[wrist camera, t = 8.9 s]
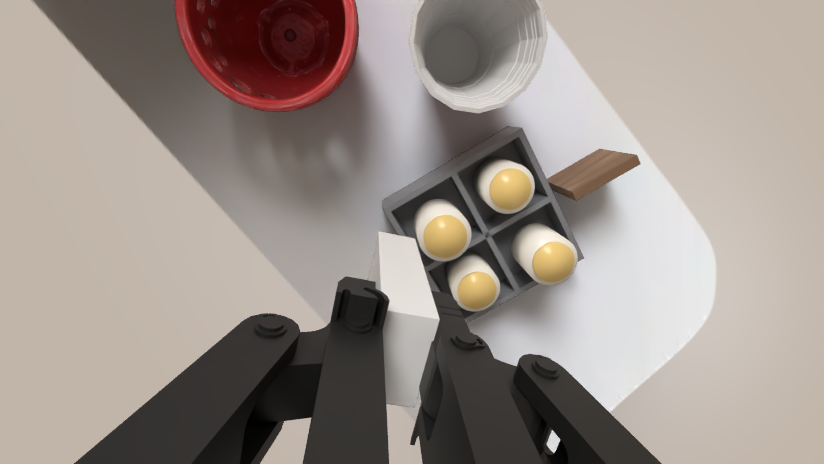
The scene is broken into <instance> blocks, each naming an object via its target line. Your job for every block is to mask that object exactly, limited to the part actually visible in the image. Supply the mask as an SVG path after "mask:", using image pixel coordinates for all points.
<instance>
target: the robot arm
mask: <svg viewBox="0 0 824 464" xmlns="http://www.w3.org/2000/svg"><path fill="white" fill-rule="evenodd" d="M419 391H420V396H421V406H420V409H419V413H418V416H417V420H416V423H415V427H414V431H413V434H412V437H411V443H410V444H411V445H415V442H416V438H417V437H418V436H419V439H420V447H421V454H422V462H423V464H661V463H660V462H659V461H658V460H657V459H656V458H655V457H654V456H653V455H652V454H651V453H650V452H649V451H648V450H647V449H646V448H645V447H644V446H643V445H642V444H641V443H640V442H639V441H638V440H637V439H636V438H635V437H634V436H633V435H632V434H631V433H630V432H629V431H628V430H627V429H626V428H625V427H624V426H622V425H621V424H620V423H619V422H618V421H617V420H616V419H615V418H614V417H613V416H612V415H611V414H610V413H609V412H608V411H607V410H606V409H605V408H604V407H603V406H602V405H601V404H600V403H599V402H598V401H597V400H596V399H595V398H594V397H593V396H592V395H591V394H590V393H589V392H588V391H587V390H586V389H585V388H584V387H583V386H582V385H581V384H580V383H579V382H578V381H577V380H576V379H575V378H574V377H572V376H571V375H570V374H569V373H568V372H567V371H566V370H565V369H564V368H563V367H562V366H560V365H559V364H558V363H556V362H554V361H552V360H551V359H550V358H547V357H544V356H541V355H533V354H528V355H523V356H522V357H521V358H520V359H519V362H518V365H517V367H516V366H513V365H510V364H507V363H504V362H501V361H499V360H496V359H494V357H493V355H492V353H491V351H490V348H489V346H488V345H487V344H486V342H485V341H484V340H482V339H481V338H480V337H478V336H477V335H474V334H472V333H470V331H469V329H468V327H467V324H466V322H465V320H464V318H463V315H462V312H461V311H460V308H459V305H458V303H457V301H456V300H455V299H454V298H452V297H451V296H450V295H449V294H447V293H442V292H436V291H431V289H430V286H429V283H428V280H427V276H426V273H425V270H424V267H423V263H422V260H421V257H420V253H419V250H418V247H417V244H416V240H415V238H410V237H405V236H400V235H395V234H390V233H385V232H380V231H379V232H378V236H377V241H376V245H375V250H374V254H373V259H372V263H371V268H370V272H369V277H368V280H363V279H357V278H351V277H345V278H343V279H342V280H340V281H339V282H338V287H337V291H336V296H335V301H334V306H333V311H332V316H331V321H330V323H329V324H328V325H327V326H326V327H325V328H322V329H320V330H316V331H312V332H300V329H299V326H298V324H296V323H295V322H294V321H293V320H292V319H289V318H287V317H285V316H281V315H277V314H268V313H267V314H259V315H255V316H251V317H249V318H247V319H245V320H244V321H242V322H241V323H240V324H239V325H238V326H236V327H235V328H234V329H233V330H232V331H231V332H230V333H228V334H227V335H226V336H225V337H223V338H222V339H221V340H220V341H219V342H218V343H216V344H215V345H214V346H213V347H212V348H211V349H209V350H208V351H207V352H206V353H204V354H203V355H202V356H201V357H200V358H199V359H197V360H196V361H195V362H194V363H193V364H192V365H190V366H189V367H188V368H187V369H186V370H184V371H183V372H182V373H181V374H180V375H178V376H177V377H176V378H175V379H174V380H173V381H171V382H170V383H169V384H168V385H167V386H165V388H163V389H162V390H161V391H159V392H158V393H157V394H156V395H155V396H154V397H152V398H151V399H150V400H149V401H148V402H146V403H145V404H144V405H143V406H142V407H141V408H139V409H138V410H137V411H136V412H135V413H133V414H132V415H131V416H130V417H129V418H128V419H127V420H125V421H124V422H123V423H122V424H120V425H119V426H118V427H117V428H116V429H115V430H113V431H112V432H111V433H110V434H109V435H107V436H106V437H105V438H104V439H103V440H101V441H100V442H99V443H98V444H97V445H95V446H94V447H93V448H92V449H91V450H90V451H88V452H87V453H86V454H85V455H84V456H83V457H81V458H80V459H79V460H78V461H77V462H76V463H74V464H260V462H261V461H262V459H263V458H264V456H265V454H266V453H267V451H268V449H269V448H270V447H271V445H272V443H273V442H274V440H275V439H276V437H277V435H278V434H279V432H280V431H281V429H282V425H283V423H284V421H286V420H295V419H303V418H310V417H312V418H311V423H310V429H309V434H308V439H307V444H306V450H305V455H304V460H303V464H389V454H388V435H387V433H388V432H387V412H386V404H391V405H399V406H406V407H414V408H415V405H416V401H417V398H418V394H419ZM552 430H553V431H554V432H555V433H556V435H557V436H558V437H559V438H560V439H561V440H560V442H559V445H558V447H557V450H556V452H555V453H553V452H552V451H551V450H550V449H549V448H548V447H547V445H546V443H547V441H548V438H549V436H550V433H551V431H552Z"/></svg>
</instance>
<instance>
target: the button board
mask: <svg viewBox="0 0 824 464" xmlns="http://www.w3.org/2000/svg"><path fill="white" fill-rule="evenodd" d="M496 157H499V158H504V159H507V160H509V161H512V162H515V163H517V164H520V165H522V166H524V167H526V168H527V169H528V170H529V171H530V173H531V174H532V176H533V178H534V183H535V190H534V194H533V197H532V199H531V201H530V202H529V204H528V205H527V206H526V207H525V208H523V209H522V210H520V211H518V212H516V213H512V214H504V213H500V212H497V211H495V210H494V209H493V208H491V207H490V206H489V205H488V204H487V203H485V202H484V201H483V200H482V199H481V198H480V197H479V196H478V195H477V194H476V192H475V190H474V187H473V177H474V174H475V171H476V169H477V168H478V167H479V165H480V164H481V163H483V162H484V161H486V160H488V159H490V158H496ZM432 199H445V200H448V201H450V202H451V203H453V204H454V205H455V206H456V207H457V209H458V210H459V211H460V212H461V213H462V215H463V216H464V217H465V218H466V219H467V221H468V223H469V225H470V228H471V241H470V244H469V246H468V248H467V249H466V251H471V252H475V253H478V254H479V255H481V256H482V257H483V258H484V259H485V261H486V262H487V263H488V265H489V266H490V268H491V269H492V270H493V272H494V273H495V275H496V276H497V277H498V280H499V282H500V293H499V296H498V298H497V300H496V301H495V302H494V303H493V304H492V305H491V306H490V307H488V308H487V309H484V310H482V311H468V310H465V309H463V308H461V307H460V306H459V308H460V311H461V312H462V315H463V318H464V320H465V322H466V323H468V322H470V321H472V320H474V319H475V318H477V317H479V316H481V315H483V314H484V313H486V312H488V311H490V310H492V309H493V308H495V307H497V306H499V305H501V304H502V303H504V302H506V301H508V300H510V299H511V298H513V297H515V296H517V295H519V294H521V293H522V292H524V291H526V290H528V289H530V288H531V287H533V286H535V285H537V284H539V283H538V282H536V281H535V280H534V279H533V278H532V277H531V276H530V275H529V274H528V273H527V272H526V271H525V270H524V269H523V268H522V267H521V265H520V264H519V263H518V262H517V261H516V260H515V259H514V257H513V255H512V252H511V243H512V240H513V237H514V236H515V234H516V233H517V232H518V230H520V229H521V228H522V227H524V226H526V225H528V224H532V223H540V224H544V225H546V226H548V227H549V228H551V229H552V230H554V231H555V232H557V233H558V234H560V235H561V236H563V237H564V238H566V239H567V240H569V241H570V242H571V243H572V244H573V245H574V247H575V248H576V251H577V256H578V261H580V260H582V259H584V257H583V255H582V253H581V250H580V248H579V246H578V244H577V242H576V240H575V238H574V236H573V234H572V232H571V230H570V227H569V225H568V223H567V221H566V219H565V217H564V215H563V213H562V211H561V209H560V206H559V204H558V202H557V200H556V198H555V196H554V194H553V192H552V190H551V188H550V186H549V183H548V181H547V179H546V177H545V175H544V173H543V171H542V169H541V167H540V165H539V163H538V160H537V158H536V156H535V154H534V152H533V150H532V148H531V146H530V144H529V142H528V140H527V137H526V135H525V133H524V131H523V129H522V128H519V127H510V126H508V127H506V128H504V129H503V130H501V131H499V132H498V133H496V134H494V135H493V136H491V137H489V138H488V139H486V140H484V141H482V142H481V143H479V144H477V145H476V146H474V147H472V148H471V149H469V150H467V151H465V152H464V153H462V154H460V155H459V156H457V157H455V158H454V159H452V160H450V161H448V162H447V163H445V164H443V165H442V166H440V167H438V168H437V169H435V170H433V171H432V172H430V173H428V174H426V175H425V176H423V177H421V178H420V179H418V180H416V181H415V182H413V183H411V184H409V185H408V186H406V187H404V188H403V189H401V190H399V191H398V192H396V193H394V194H393V195H391V196H389V197H387V198H386V199H384V200H382V207H383V211H384V213H385V214H386V216H387V217H388V219H389V221H390V222H391V224H392V226H393V227H394V229H395V230H396V232H397V234H398V235H400V236H405V237H410V238H415V240H416V244H417V247H418V250H419V253H420V257H421V260H422V263H423V267H424V270H425V273H426V276H427V280H428V283H429V285H430V287H431V288H432V290H433V291H436V292H442V293H447V294H449V295H450V296H451V297H452V298H454V297H453V295H452V292H451V290H450V287H449V285H448V282H447V280H446V276H445V269H446V266H447V264H448V262H449V261H437V260H434V259H431V258H430V257H428V256H427V255H426V254H425V253H424V252H423V251H422V249H421V247H420V245H419V242H418V239H417V236H416V232H415V229H414V216H415V213H416V211H417V210H418V208H419V207H420V206H421V205H422V204H424V203H425V202H427V201H429V200H432ZM578 261H577V262H578Z"/></svg>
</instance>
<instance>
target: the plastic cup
mask: <svg viewBox="0 0 824 464" xmlns="http://www.w3.org/2000/svg"><path fill="white" fill-rule="evenodd" d="M547 37H548V35H547V27H546V18H545V10H544V6H543V4H542V2H541V0H419V2H418V4H417V6H416V8H415V9H414V11H413V16H412V24H411V31H410V39H409V46H410V50H411V55H412V59H413V63H414V67H415V72H416V74H417V75H418V77H419V78H420V80H421V81H422V82H423V84H424V85H425V87H426V88H427V90H428V91H429V93H430V94H431V96H433V97H434V98H436V99H438V100H439V101H441V102H442V103H444V104H445V105H447V106H449V107H450V108H452V109H453V110H459V111H466V112H473V113H482V112H486V111H490V110H493V109H497V108H501V107H504V106H505V105H507V104H508V103H509V102H511V101H512V100H513V99H515V98H516V97H517V96H518V95H520V94H521V93H522V92H524V91H525V90H526V89H527V87H528V85H529V84H530V82H531V81H532V79H533V78H534V76H535V74H536V73H537V71H538V70H539V68H540V66H541V63H542V59H543V55H544V50H545V46H546V42H547Z"/></svg>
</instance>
